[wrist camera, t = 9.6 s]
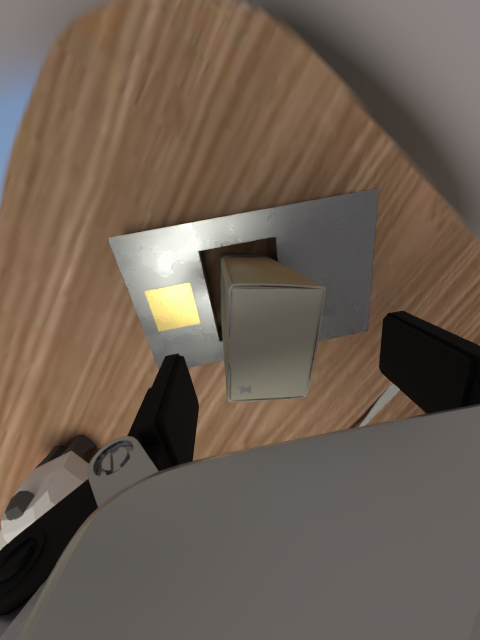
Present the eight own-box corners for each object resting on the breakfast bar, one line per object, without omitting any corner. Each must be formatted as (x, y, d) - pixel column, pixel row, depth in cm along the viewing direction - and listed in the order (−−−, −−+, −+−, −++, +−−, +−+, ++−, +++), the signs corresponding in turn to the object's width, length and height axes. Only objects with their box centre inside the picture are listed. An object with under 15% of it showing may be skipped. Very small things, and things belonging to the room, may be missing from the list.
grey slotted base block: (355, 192, 19) (379, 187, 17) (350, 318, 24) (368, 331, 21) (123, 235, 19) (107, 238, 16) (166, 355, 24) (160, 374, 21)
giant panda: (40, 445, 27) (-45, 554, 18) (78, 425, 26) (11, 528, 17) (121, 503, 32) (88, 607, 24) (154, 488, 32) (132, 588, 23)
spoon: (297, 457, 33) (301, 468, 32) (407, 357, 28) (419, 365, 26) (316, 465, 35) (321, 476, 33) (425, 372, 29) (436, 380, 28)
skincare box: (262, 316, 23) (308, 404, 12) (219, 316, 23) (226, 409, 11) (267, 250, 20) (332, 285, 9) (219, 249, 20) (228, 284, 9)
